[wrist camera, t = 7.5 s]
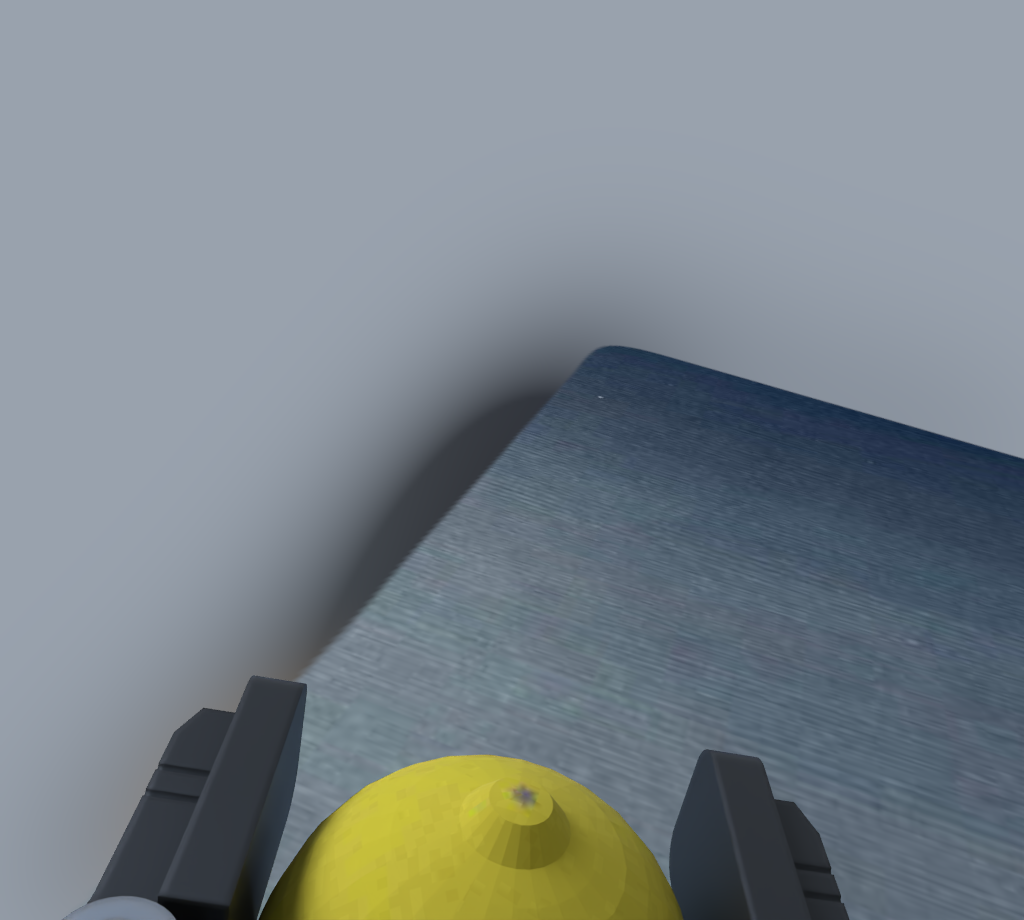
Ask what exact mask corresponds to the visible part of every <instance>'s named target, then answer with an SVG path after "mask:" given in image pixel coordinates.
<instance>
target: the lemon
mask: <svg viewBox="0 0 1024 920" xmlns="http://www.w3.org/2000/svg"><path fill="white" fill-rule="evenodd" d="M259 920H683V916H682V912H681V909H680V907H679V904H678V902H677V900H676V897H675V895H674V893H673V890H672V888H671V887H670V885H669V883H668V881H667V879H666V877H665V876H664V874H663V872H662V870H661V868H660V866H659V865H658V863H657V861H656V859H655V857H654V855H653V854H652V852H651V851H650V850H649V849H648V848H647V846H646V845H645V844H644V843H643V841H642V840H641V839H640V838H639V837H638V835H637V834H636V833H635V832H634V831H633V830H632V828H631V827H630V826H629V825H628V824H627V823H626V821H625V820H624V819H623V818H622V817H621V816H620V814H619V813H618V812H617V811H615V810H614V809H613V808H612V807H610V806H609V805H608V804H607V803H605V802H604V801H603V800H601V799H600V798H599V797H598V796H596V795H595V794H594V793H593V792H591V791H590V790H589V789H587V788H586V787H584V786H582V785H581V784H579V783H577V782H575V781H573V780H571V779H569V778H567V777H565V776H564V775H562V774H560V773H558V772H556V771H554V770H552V769H549V768H546V767H543V766H540V765H537V764H534V763H531V762H528V761H525V760H521V759H514V758H508V757H501V756H494V755H467V756H447V757H443V758H439V759H435V760H430V761H426V762H422V763H418V764H414V765H411V766H408V767H406V768H403V769H400V770H398V771H396V772H394V773H392V774H390V775H388V776H386V777H384V778H382V779H380V780H378V781H375V782H373V783H371V784H369V785H367V786H366V787H364V788H363V789H362V790H360V791H359V792H358V793H356V794H355V795H354V796H352V797H351V798H350V799H349V800H348V801H347V802H345V803H344V804H343V805H342V806H341V807H339V808H338V809H337V810H336V811H335V812H333V813H332V814H331V815H330V816H329V817H327V818H326V819H325V820H324V821H323V822H321V824H320V825H319V826H318V827H317V828H316V829H315V831H314V832H313V833H312V834H311V835H310V837H309V838H308V839H307V841H306V842H305V843H304V845H303V846H302V848H301V849H300V851H299V852H298V854H297V855H296V856H295V858H294V859H293V861H292V862H291V864H290V865H289V866H288V868H287V869H286V871H285V872H284V874H283V875H282V877H281V878H280V880H279V881H278V883H277V885H276V886H275V888H274V890H273V891H272V893H271V895H270V897H269V899H268V901H267V903H266V905H265V907H264V909H263V911H262V913H261V915H260V918H259Z"/></svg>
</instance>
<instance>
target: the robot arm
mask: <svg viewBox="0 0 1024 920" xmlns="http://www.w3.org/2000/svg"><path fill="white" fill-rule="evenodd" d="M306 694H307V685H306V684H304V683H297V682H291V681H284V680H279V679H272V678H265V677H260V676H252V677H251V678H250V680H249V682H248V684H247V686H246V689H245V691H244V693H243V696H242V698H241V701H240V703H239V705H238V708H237V710H236V712H235V713H233V712H226V711H220V710H213V709H207V708H203V709H202V710H200V711H199V712H198V713H197V714H196V715H194V716H193V717H192V718H191V719H189V720H188V721H187V722H186V723H185V724H183V725H182V726H181V727H180V728H179V729H177V730H176V731H175V732H174V734H173V736H172V738H171V740H170V742H169V744H168V746H167V748H166V750H165V752H164V754H163V756H162V758H161V760H160V762H159V765H158V769H156V770H155V772H154V774H153V776H152V778H151V780H150V782H149V784H148V786H147V788H146V792H145V795H144V796H142V798H141V800H140V802H139V804H138V806H137V808H136V810H135V812H134V814H133V816H132V818H131V820H130V822H129V824H128V826H127V828H126V830H125V832H124V834H123V836H122V838H121V840H120V842H119V844H118V846H117V848H116V850H115V852H114V854H113V857H112V858H111V860H110V862H109V864H108V866H107V868H106V870H105V872H104V874H103V876H102V878H101V880H100V882H99V884H98V886H97V888H96V890H95V892H94V894H93V895H92V897H91V899H90V900H89V902H88V903H87V904H86V905H84V906H82V907H80V908H79V909H77V910H75V911H73V912H72V913H70V914H69V915H68V916H66V917H65V918H63V919H62V920H257V916H258V913H259V910H260V907H261V903H262V900H263V897H264V893H265V890H266V887H267V883H268V880H269V877H270V873H271V870H272V867H273V864H274V860H275V857H276V854H277V850H278V847H279V844H280V840H281V837H282V834H283V831H284V827H285V824H286V821H287V817H288V813H289V810H290V806H291V801H292V797H293V792H294V787H295V782H296V776H297V769H298V761H299V753H300V745H301V736H302V728H303V720H304V712H305V703H306ZM669 870H670V880H671V887H672V890H673V893H674V895H675V897H676V900H677V902H678V904H679V907H680V909H681V912H682V916H683V920H849V917H848V914H847V912H846V909H845V906H844V903H841V900H840V899H841V894H840V892H839V889H838V886H837V883H836V880H835V877H834V875H831V866H830V863H829V860H828V858H827V855H826V852H825V849H824V846H823V843H822V840H821V838H820V835H819V833H818V832H817V831H816V829H815V828H814V827H813V826H812V824H811V823H810V822H809V821H808V819H807V818H806V817H805V816H804V814H803V813H802V812H801V810H800V809H799V808H798V807H797V805H796V804H795V803H794V802H788V801H782V800H776V799H774V797H773V794H772V791H771V787H770V784H769V781H768V778H767V775H766V771H765V768H764V765H763V763H762V761H761V760H760V759H759V758H757V757H751V756H745V755H739V754H733V753H726V752H720V751H714V750H708V749H706V750H704V751H703V752H702V753H701V755H700V756H699V759H698V761H697V764H696V767H695V770H694V773H693V775H692V778H691V781H690V784H689V787H688V790H687V793H686V796H685V799H684V801H683V804H682V807H681V810H680V813H679V816H678V819H677V822H676V825H675V828H674V831H673V835H672V840H671V847H670V860H669Z"/></svg>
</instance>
